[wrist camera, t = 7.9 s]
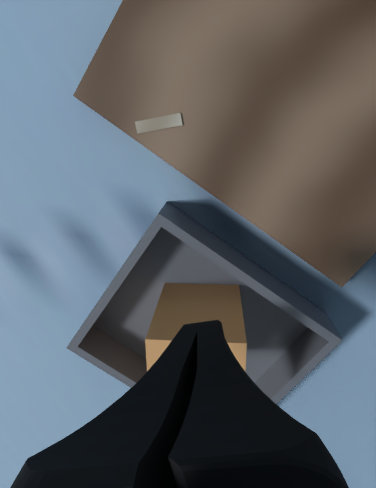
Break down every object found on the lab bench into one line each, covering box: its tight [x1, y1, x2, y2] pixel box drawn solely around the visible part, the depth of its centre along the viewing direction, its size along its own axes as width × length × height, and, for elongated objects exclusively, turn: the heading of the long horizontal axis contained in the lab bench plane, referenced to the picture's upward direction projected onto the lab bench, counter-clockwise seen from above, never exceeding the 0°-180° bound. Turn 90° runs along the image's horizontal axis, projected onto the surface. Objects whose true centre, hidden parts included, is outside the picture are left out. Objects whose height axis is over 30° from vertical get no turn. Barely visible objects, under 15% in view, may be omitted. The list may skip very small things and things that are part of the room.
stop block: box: [145, 283, 247, 371], centre depth 19 cm, size 4×4×6 cm
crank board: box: [73, 0, 376, 287], centre depth 17 cm, size 18×16×1 cm
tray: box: [67, 202, 342, 404], centre depth 21 cm, size 12×10×3 cm
